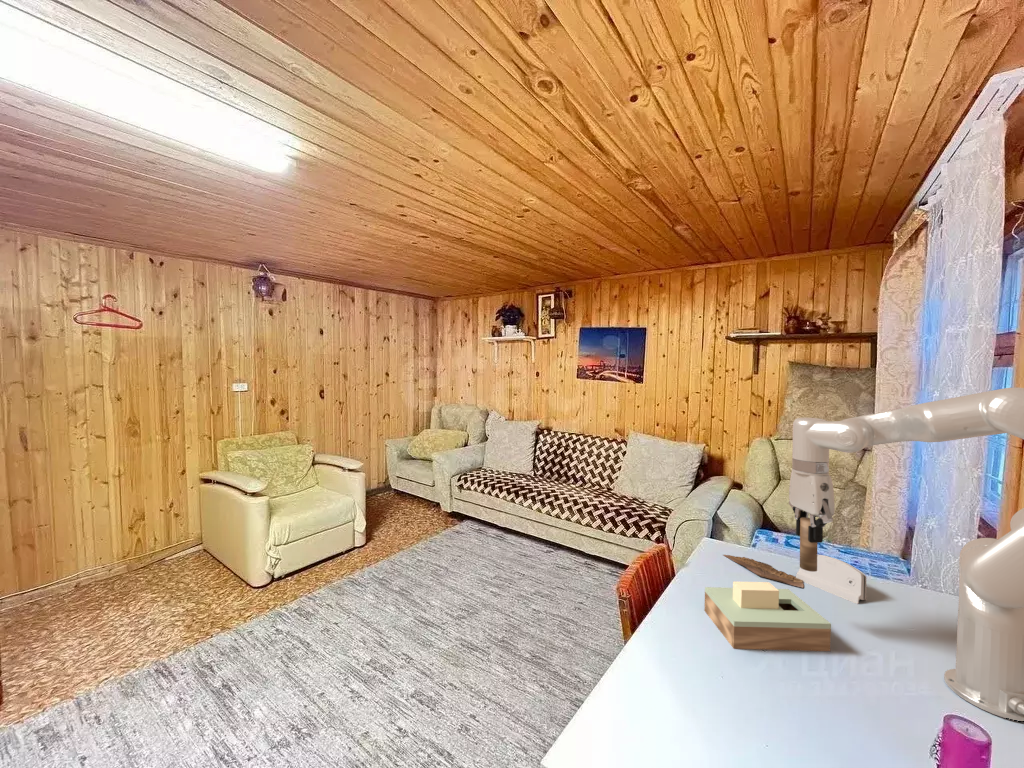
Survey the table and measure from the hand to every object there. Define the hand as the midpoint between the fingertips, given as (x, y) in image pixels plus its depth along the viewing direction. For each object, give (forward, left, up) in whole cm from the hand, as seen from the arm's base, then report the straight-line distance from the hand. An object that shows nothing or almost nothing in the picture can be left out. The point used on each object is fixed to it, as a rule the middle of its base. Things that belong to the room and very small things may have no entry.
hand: (808, 537), depth 103 cm
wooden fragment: (+30, -6, -24) cm, 39 cm away
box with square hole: (-3, +13, -23) cm, 26 cm away
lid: (-3, +13, -17) cm, 21 cm away
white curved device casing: (+20, -21, -23) cm, 37 cm away
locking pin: (0, 0, -8) cm, 8 cm away
